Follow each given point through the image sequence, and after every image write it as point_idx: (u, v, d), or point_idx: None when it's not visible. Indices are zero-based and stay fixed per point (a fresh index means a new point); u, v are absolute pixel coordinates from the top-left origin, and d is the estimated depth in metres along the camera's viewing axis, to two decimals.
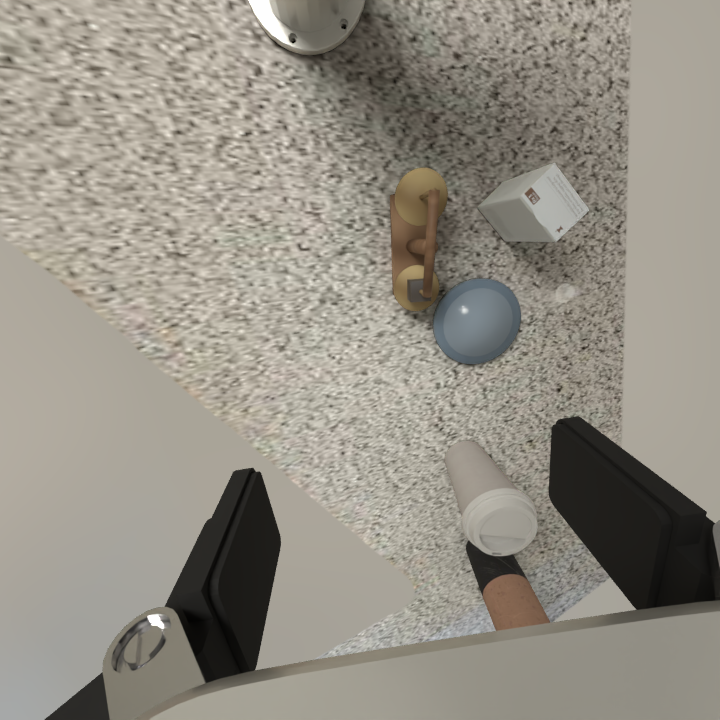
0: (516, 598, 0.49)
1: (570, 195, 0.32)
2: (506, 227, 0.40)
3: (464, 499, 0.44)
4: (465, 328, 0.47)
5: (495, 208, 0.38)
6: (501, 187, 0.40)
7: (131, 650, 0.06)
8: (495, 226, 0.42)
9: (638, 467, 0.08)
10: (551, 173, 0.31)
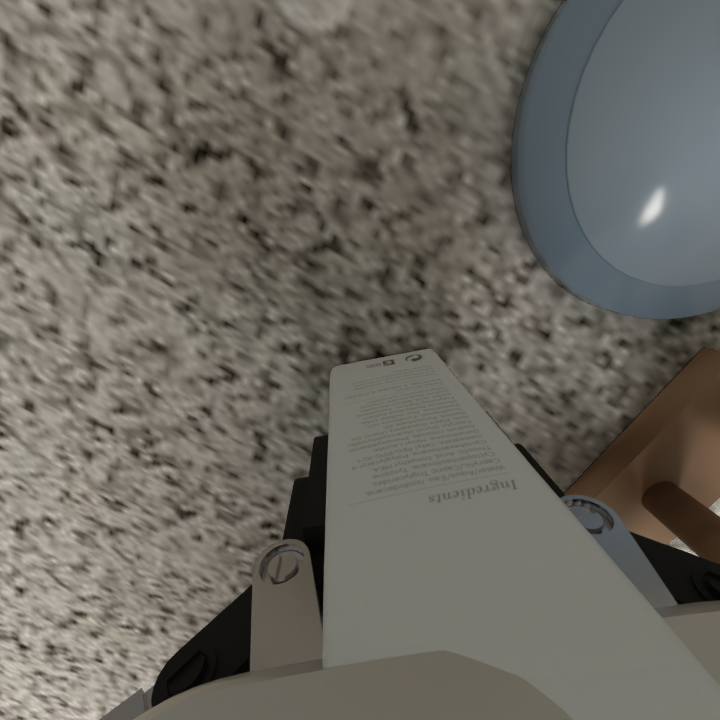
0: None
1: None
2: None
3: None
4: None
5: None
6: None
7: (272, 570, 0.07)
8: None
9: None
10: None
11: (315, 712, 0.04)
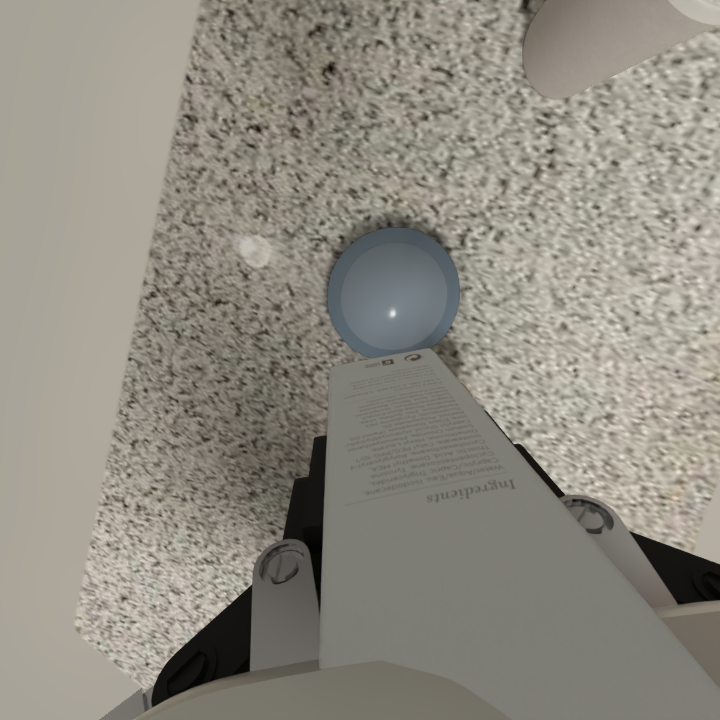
0: None
1: None
2: None
3: None
4: (413, 303, 0.31)
5: None
6: None
7: (272, 570, 0.07)
8: None
9: None
10: None
11: (315, 712, 0.04)
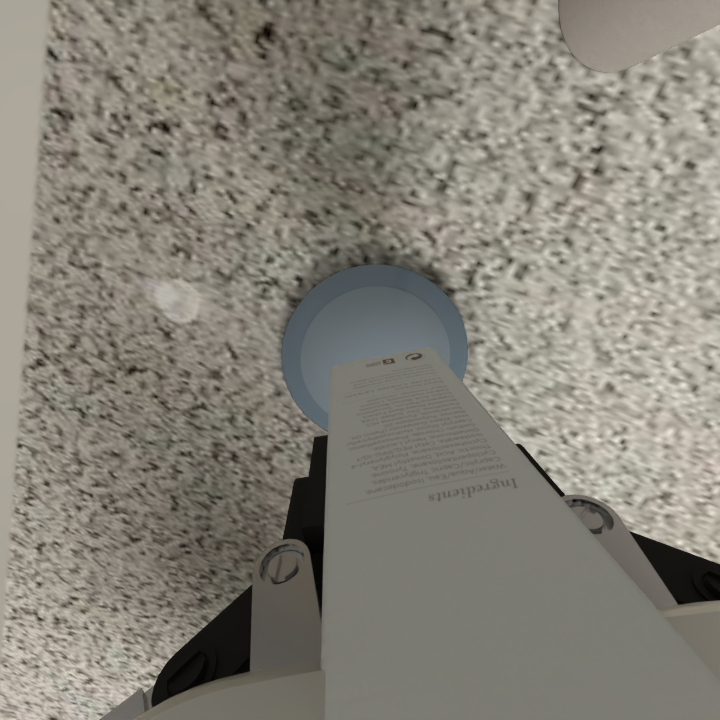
0: None
1: None
2: None
3: None
4: None
5: None
6: None
7: (272, 570, 0.07)
8: None
9: None
10: None
11: (315, 712, 0.04)
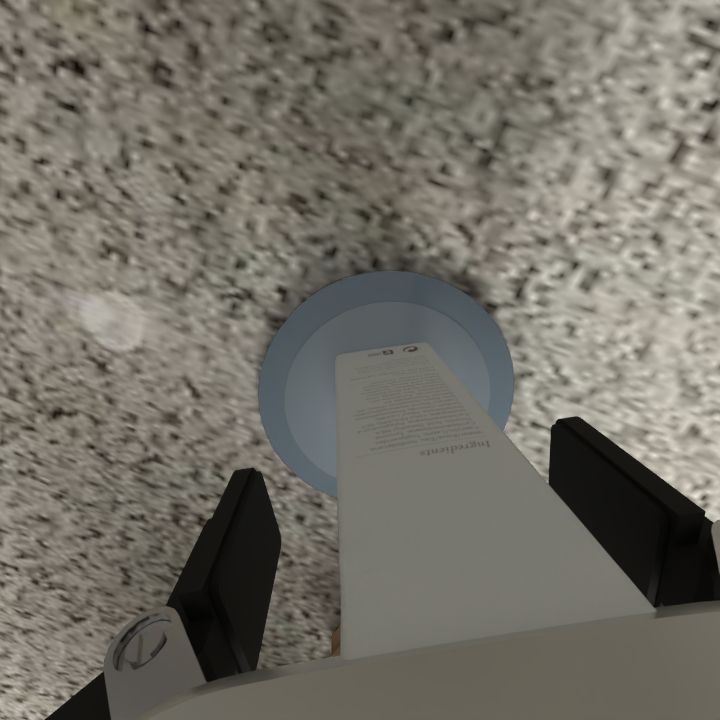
0: None
1: None
2: None
3: None
4: None
5: None
6: None
7: (132, 649, 0.06)
8: None
9: (637, 467, 0.08)
10: None
11: (315, 712, 0.04)
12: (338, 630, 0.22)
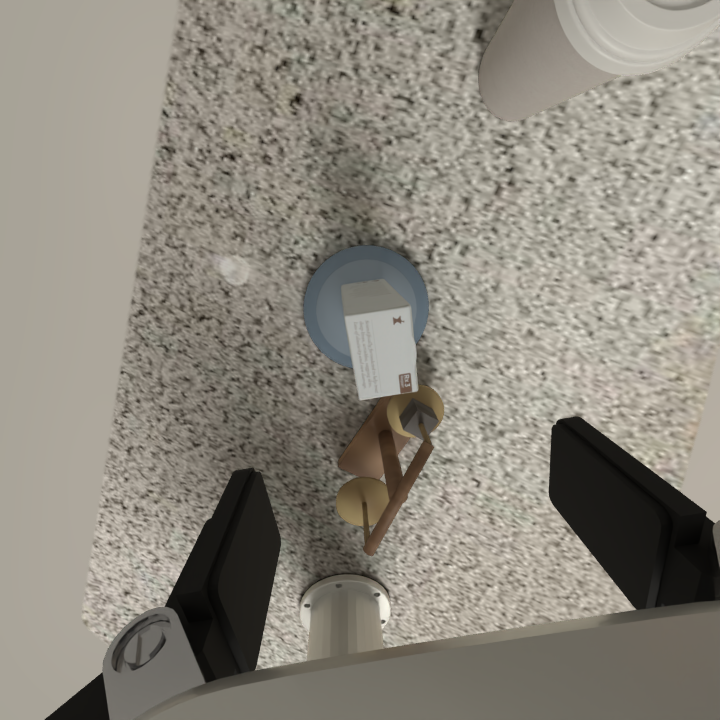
0: None
1: (361, 353, 0.21)
2: None
3: None
4: None
5: None
6: None
7: (131, 650, 0.06)
8: None
9: (638, 467, 0.08)
10: (370, 392, 0.22)
11: (315, 712, 0.04)
12: (342, 456, 0.39)
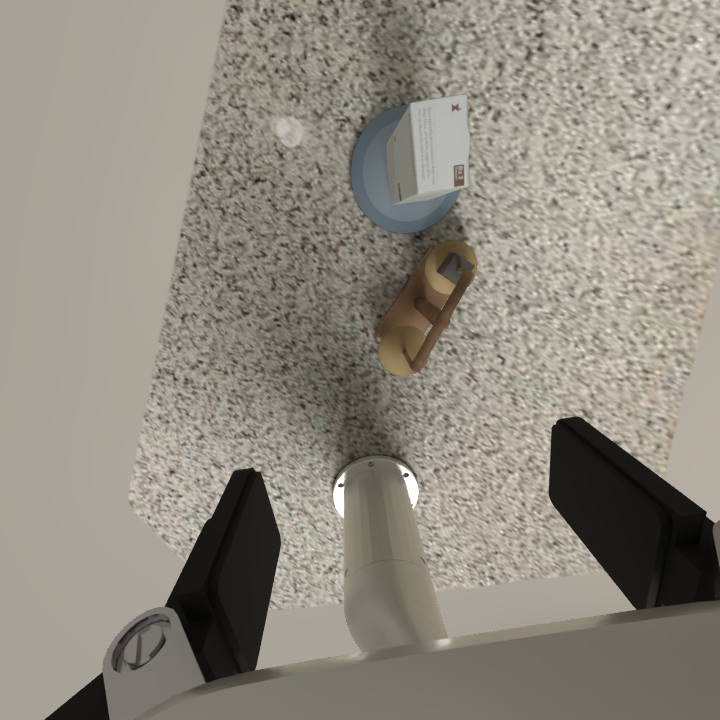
0: None
1: (422, 141, 0.24)
2: None
3: None
4: None
5: None
6: None
7: (131, 650, 0.06)
8: None
9: (638, 467, 0.08)
10: (428, 184, 0.25)
11: (315, 712, 0.04)
12: (378, 327, 0.42)
